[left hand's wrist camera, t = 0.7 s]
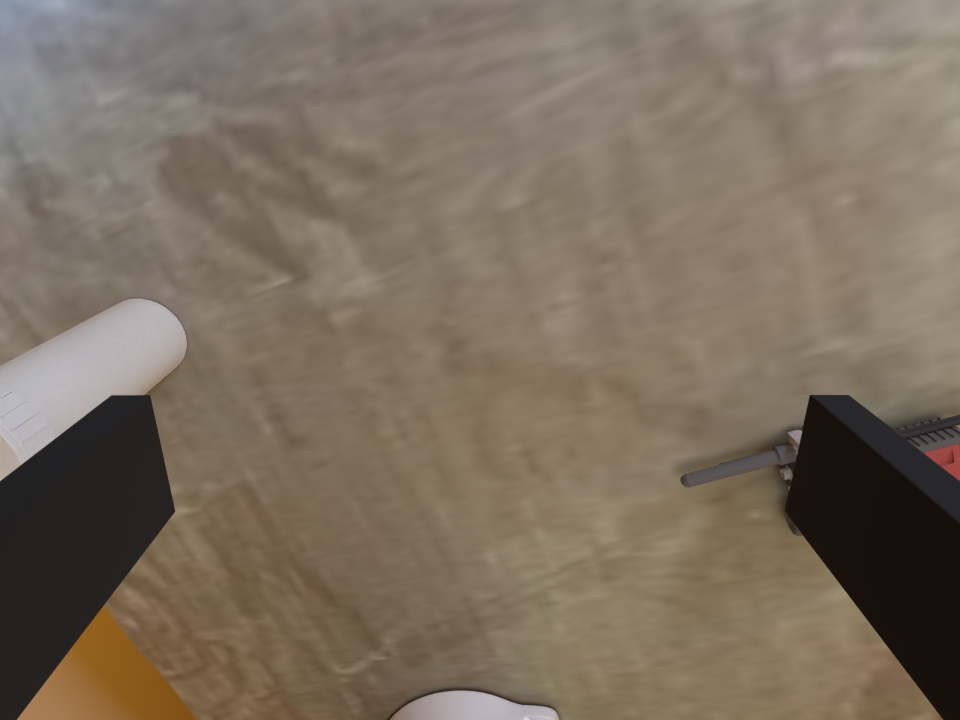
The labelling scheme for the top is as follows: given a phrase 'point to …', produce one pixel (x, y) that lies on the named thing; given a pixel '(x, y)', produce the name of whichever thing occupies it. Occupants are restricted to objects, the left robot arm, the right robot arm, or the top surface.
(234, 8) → the top surface
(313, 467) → the top surface
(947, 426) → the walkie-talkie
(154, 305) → the jar
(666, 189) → the top surface
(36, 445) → the lid
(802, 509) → the left robot arm
